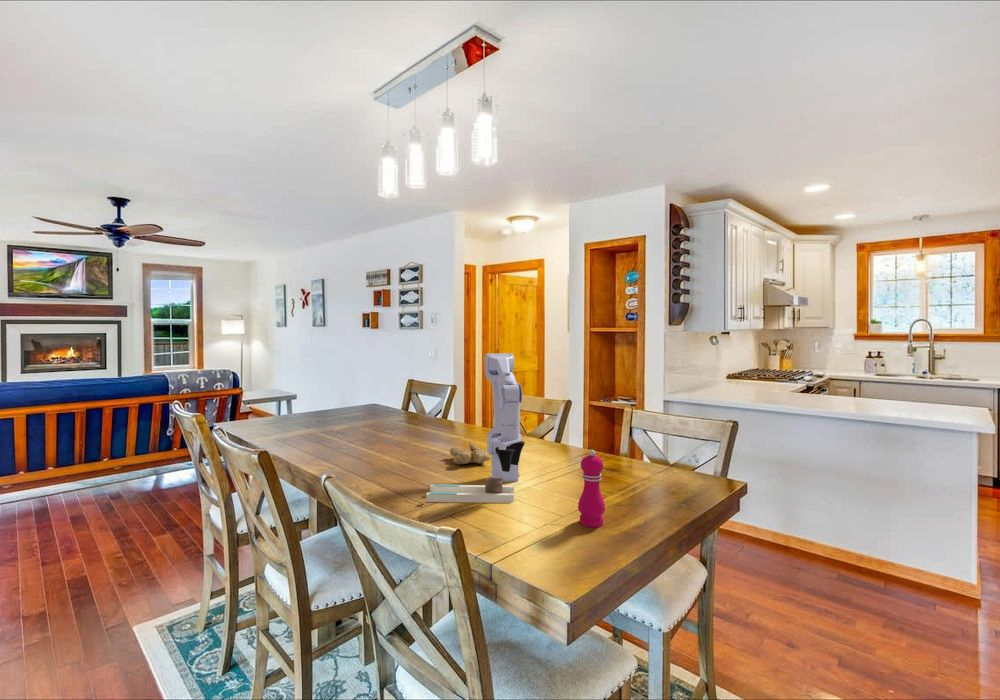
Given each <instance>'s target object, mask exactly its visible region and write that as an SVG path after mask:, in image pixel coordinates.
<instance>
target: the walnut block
mask: <svg viewBox="0 0 1000 700" xmlns="http://www.w3.org/2000/svg"><path fill="white" fill-rule="evenodd" d="M484 484H485V493H502V486H503V482H502V478H492V477H486V478H485V483H484Z"/></svg>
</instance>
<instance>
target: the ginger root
mask: <svg viewBox="0 0 1000 700" xmlns="http://www.w3.org/2000/svg"><path fill="white" fill-rule="evenodd" d="M449 453H450V455H451V456H452V457H453V460H452V461H453V463H454V464H456V465H458V464H459V466H461V464H462V465H465V464H470V463H471V464H484V463H485V462H486V461H490V460H492V457H490V456H488V452H487V450H485V449H483V448H480V447H478V446H477V445H476V444H475V443H472V442H469V449H460V448H458V447H450V449H449Z"/></svg>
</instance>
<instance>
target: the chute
mask: <svg viewBox="0 0 1000 700" xmlns="http://www.w3.org/2000/svg"><path fill="white" fill-rule="evenodd" d="M429 489H430V490H429V491H430V492H428V491H427V492H426V494H425V495H426V496H425V497H426V499H425V500H426V503H488V504H489V503H491V504H492V503H494V504H495V503H497V504H498V503H501V504H502V503H505V504H506V503H507V504H514V502H515V498H514V497H515V495H514V494H515V485H502V493H485V485H484V484H481V485H479V484H478V485H477V484H474V485H473V484H459V483H458V484H457V483H456V484H454V483H453V484H452V483H451V484H448V483H447V484H446V483H443V484H441V483H439V484H438V483H437V484H436V483H434V484H430V487H429Z"/></svg>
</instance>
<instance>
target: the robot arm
mask: <svg viewBox="0 0 1000 700" xmlns="http://www.w3.org/2000/svg"><path fill="white" fill-rule="evenodd" d="M514 368H515V356H514V354H513V353H512V352H510V353H489V352H487V353H486V354H485V355H484V374H485V378H486V379H487V380H488V381H490V384H491V388H492V400H493V401H492V403H493V419H494V427H492V428H491V429H490V430H489V431H488V432H487V436H486V437H487V440H486V449H487V450H486V452H487V455H490V456H491V476H490V478H502V483H503V482H504V483H505V482H519V478H520V471H519V463H520V459H521V453H522V450H523V448H524V446H525V443H526V442H525V441H524V440H522V433H521V426H520V425H521V424H520V423H521V412H520V411H521V403H522V401H523V389H522V385H521V384H520V383H517V380H516V377H515V374H514V373H513V372H514Z"/></svg>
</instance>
